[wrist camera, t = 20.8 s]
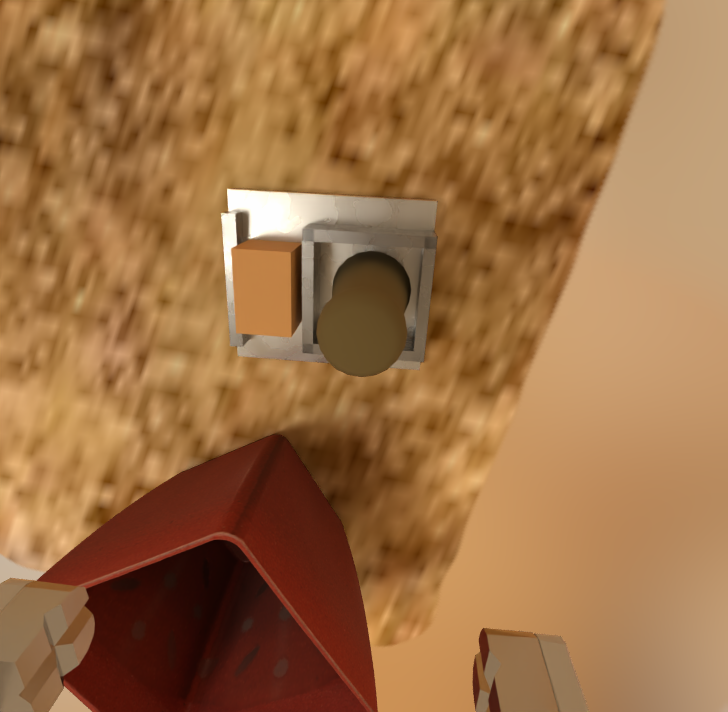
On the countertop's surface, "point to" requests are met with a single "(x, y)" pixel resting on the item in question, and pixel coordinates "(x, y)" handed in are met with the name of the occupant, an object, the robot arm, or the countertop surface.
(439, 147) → the countertop surface
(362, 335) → the cork
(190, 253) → the countertop surface
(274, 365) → the countertop surface
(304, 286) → the grey tray with frame
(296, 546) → the plant pot
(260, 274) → the bracket block
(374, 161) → the countertop surface
